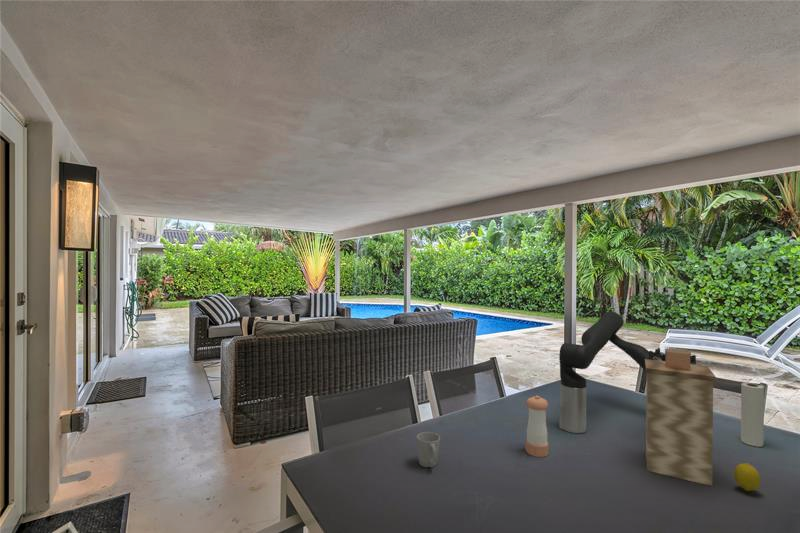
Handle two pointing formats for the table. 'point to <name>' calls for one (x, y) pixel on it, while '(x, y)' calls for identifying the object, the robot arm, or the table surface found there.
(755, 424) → the paper towel roll
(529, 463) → the table surface
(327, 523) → the table surface
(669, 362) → the gray and brown block
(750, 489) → the lemon
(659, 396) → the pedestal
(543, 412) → the pepper shaker
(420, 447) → the cup
